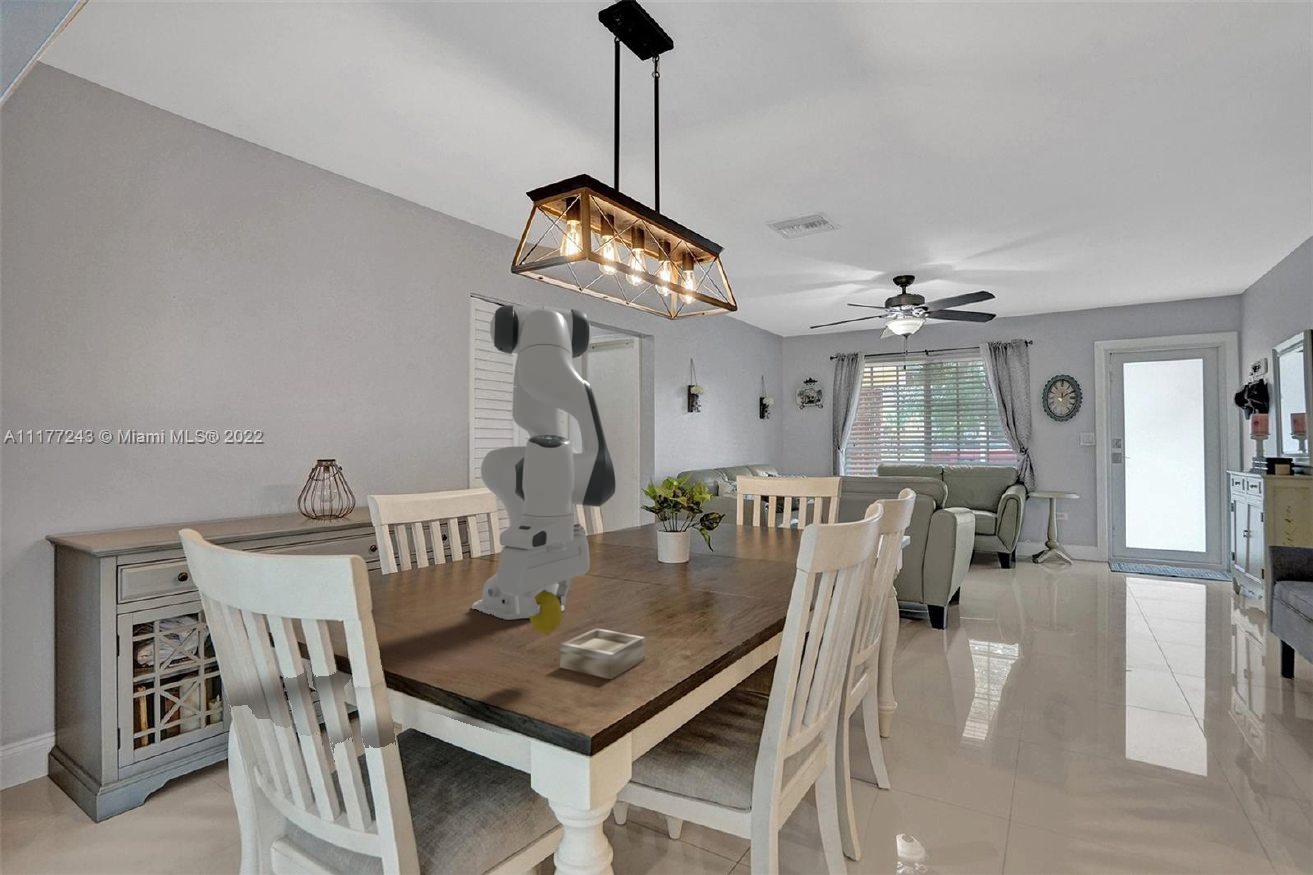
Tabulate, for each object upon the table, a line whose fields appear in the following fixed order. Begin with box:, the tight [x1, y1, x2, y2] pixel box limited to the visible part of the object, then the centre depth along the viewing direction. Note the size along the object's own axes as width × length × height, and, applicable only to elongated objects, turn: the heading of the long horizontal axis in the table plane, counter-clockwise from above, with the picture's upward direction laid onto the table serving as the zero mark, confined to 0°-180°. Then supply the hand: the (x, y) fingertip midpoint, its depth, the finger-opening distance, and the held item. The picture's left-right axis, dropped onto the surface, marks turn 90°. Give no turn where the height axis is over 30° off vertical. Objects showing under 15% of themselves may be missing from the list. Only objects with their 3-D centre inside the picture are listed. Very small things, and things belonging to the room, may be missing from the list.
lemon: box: [529, 590, 563, 637], centre depth 110 cm, size 6×6×8 cm
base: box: [559, 627, 646, 680], centre depth 116 cm, size 11×11×4 cm
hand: (546, 609), depth 110 cm, fingers closed on lemon, 5 cm apart
